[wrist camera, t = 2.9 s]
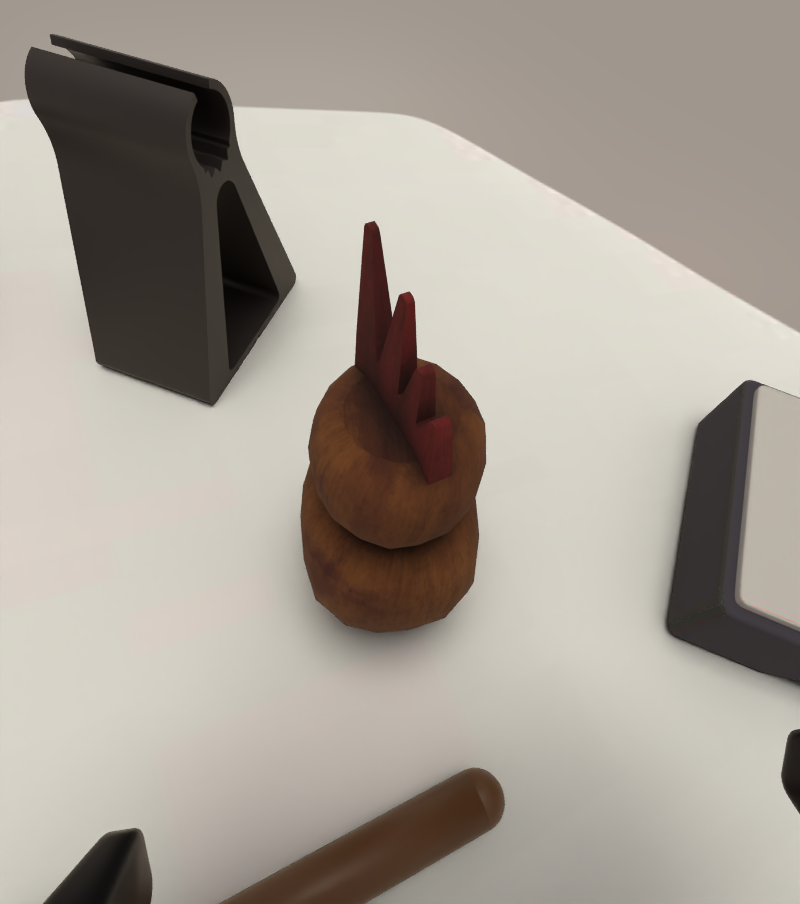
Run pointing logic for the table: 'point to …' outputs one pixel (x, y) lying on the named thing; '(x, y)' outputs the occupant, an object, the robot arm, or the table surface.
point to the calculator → (743, 534)
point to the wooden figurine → (391, 474)
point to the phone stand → (159, 215)
